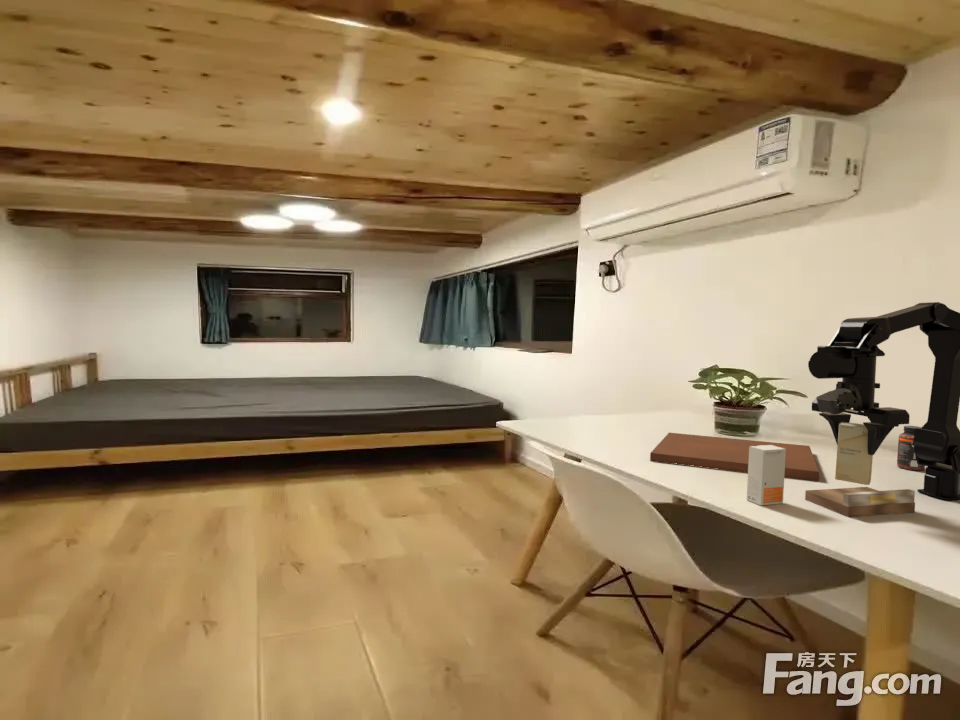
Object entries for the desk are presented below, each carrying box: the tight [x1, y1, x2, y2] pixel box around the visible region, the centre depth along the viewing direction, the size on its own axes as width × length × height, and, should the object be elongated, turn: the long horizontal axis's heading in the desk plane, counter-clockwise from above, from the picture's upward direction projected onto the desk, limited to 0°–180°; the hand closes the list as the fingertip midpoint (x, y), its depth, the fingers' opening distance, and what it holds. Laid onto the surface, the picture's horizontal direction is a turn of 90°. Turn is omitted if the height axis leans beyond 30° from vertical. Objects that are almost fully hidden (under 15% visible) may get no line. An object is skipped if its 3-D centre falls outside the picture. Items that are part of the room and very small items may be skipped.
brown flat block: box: [804, 486, 916, 518], centre depth 115 cm, size 16×11×4 cm
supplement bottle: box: [896, 425, 926, 472], centre depth 146 cm, size 6×6×11 cm
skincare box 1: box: [746, 445, 786, 506], centre depth 117 cm, size 6×4×12 cm
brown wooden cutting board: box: [649, 432, 820, 482], centre depth 157 cm, size 40×3×33 cm
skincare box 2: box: [834, 422, 874, 486], centre depth 116 cm, size 6×4×12 cm
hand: (855, 450), depth 116 cm, fingers closed on skincare box 2, 7 cm apart
